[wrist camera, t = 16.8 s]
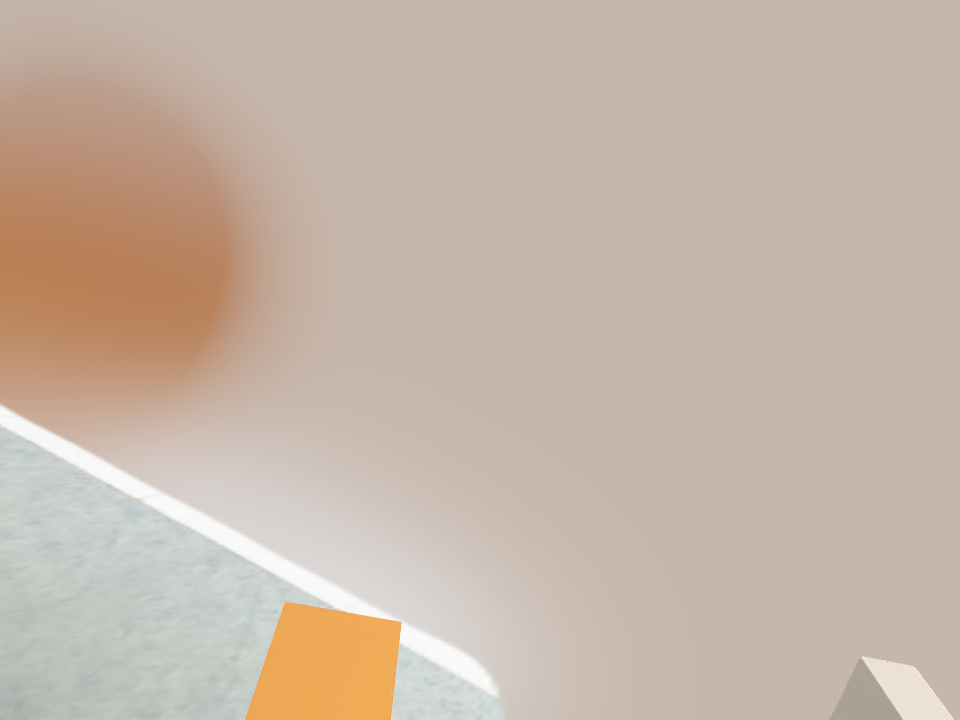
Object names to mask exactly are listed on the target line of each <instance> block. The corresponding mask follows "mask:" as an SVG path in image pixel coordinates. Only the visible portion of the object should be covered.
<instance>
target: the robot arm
mask: <svg viewBox="0 0 960 720" xmlns="http://www.w3.org/2000/svg"><path fill="white" fill-rule="evenodd" d="M830 720H954V719H953V718H952V716H951V715H950V714H949V712H948V711H947V709H946V708H945V707H944V706H943V704H942V703H941V702H940V700H939V699H938V698H937V696H936V695H935V694H934V692H933V691H932V689H931V688H930V687H929V685H928V684H927V683H926V681H925V680H924V679H923V677H922V676H921V675H920V673H919V672H918V671H917V669H916V668H915V667H914V666H909V665H904V664H899V663H894V662H889V661H883V660H878V659H873V658H868V657H863V656H860V659H859V660H858V662H857V665H856V667H855V669H854V671H853V673H852V675H851V677H850V679H849V681H848V683H847V685H846V687H845V690H844V691H843V693H842V695H841V698H840V700H839V702H838V704H837V706H836V708H835V710H834V712H833V714H832V716H831V718H830Z"/></svg>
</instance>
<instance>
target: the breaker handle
mask: <svg viewBox="0 0 960 720" xmlns="http://www.w3.org/2000/svg"><path fill="white" fill-rule="evenodd" d="M400 631H401V622H398V621H392V620H386V619H381V618H375V617H369V616H364V615H358V614H352V613H347V612H341V611H335V610H330V609H324V608H319V607H313V606H307V605H302V604H296V603H290V602H285V604H284V607H283V610H282V613H281V615H280V618H279V621H278V624H277V627H276V630H275V633H274V636H273V639H272V642H271V645H270V648H269V651H268V654H267V657H266V660H265V663H264V666H263V669H262V672H261V675H260V678H259V681H258V684H257V687H256V690H255V693H254V696H253V698H252V701H251V704H250V707H249V710H248V713H247V716H246V719H245V720H391V712H392V703H393V694H394V685H395V676H396V667H397V658H398V649H399V640H400Z"/></svg>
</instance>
